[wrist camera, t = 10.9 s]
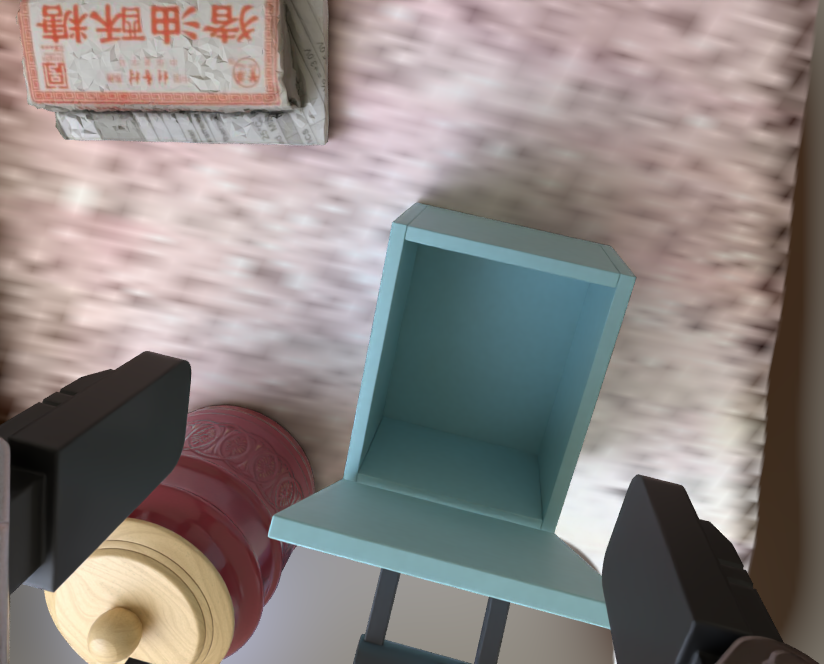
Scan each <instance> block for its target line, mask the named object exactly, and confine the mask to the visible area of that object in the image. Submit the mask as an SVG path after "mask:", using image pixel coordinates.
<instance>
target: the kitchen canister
mask: <svg viewBox="0 0 824 664" xmlns="http://www.w3.org/2000/svg"><path fill="white" fill-rule="evenodd" d="M313 494H315V485H314V478H313V473H312V469H311V466H310V464H309V461H308V459H307V457H306V455H305V453H304V451H303V450H302V448H301V447H300V445H299V444H298V443H297V441H296V440H295V439H294V438H293V437H292V436H291V435H290V434H289V433H288V432H287V431H286V430H285V429H284V428H283V427H282V426H280V425H279V424H278V423H276V422H275V421H273V420H272V419H270V418H268V417H267V416H265V415H263V414H261V413H258V412H256V411H253V410H250V409H247V408H243V407H238V406H230V405H216V406H209V407H204V408H201V409H198V410H195V411H193V412H191V413H188V414H187V424H186V434H185V442H184V446H183V450H182V453H181V456H180V458H179V460H178V462H177V464H176V466H175V468H174V469H173V470H172V472H171V473H170V474H169V475H168V476H167V477H166V478H165V479H164V480H163V481H162V482H161V483H160V484H159V485H158V486H157V487H156V488H155V489H154V490H153V491H152V492H151V494H150V495H149V496H148V497H147V498H146V499H145V500H144V501H143V502H142V503H141V504H140V505H139V506H138V507H137V508H136V509H135V510H134V511H133V512H132V513H131V514H130V515H129V516H128V517H127V518H126V519H125V520H124V521H123V522H122V523H121V524H120V525H119V526H118V527H117V528H116V529H115V530H114V532H113V533H112V534H111V535H110V536H109V537H108V538H107V539H106V540H105V541H104V542H103V543H102V544H101V545H100V546H99V547H98V548H97V549H96V550H95V551H94V552H93V553H92V554H91V555H90V556H89V557H88V558H87V559H86V560H85V561H84V562H83V563H82V564H81V565H80V566H79V567H78V568H77V569H76V571H75V572H74V573H73V574H72V575H71V576H70V577H69V578H68V579H67V580H66V581H65V582H64V583H63V584H62V585H61V586H60V587H59V588H58V589H57V590H56V591H55V592H54V593H53V592H50V591H46V590H44V592H45V598H46V603H47V606H48V609H49V612H50V614H51V617H52V619H53V621H54V623H55V625H56V626H57V628H58V630H59V631H60V633H61V634H62V636H63V637H64V638H65V639H66V641H67V642H68V643H69V644H70V646H71V647H72V648H73V649H74V650H75V651H76V652H77V653H78V655H79V656H80V657H82V658H83V659H84V660H85V661H86V662H87V663H89V664H125V662H126V661H127V660H128V658H129V657H131V658H134V659H138V660H141V661H145V662H148V663H152V664H220V662H221V661H222V660H223V659H225V658H227V657H229V656H231V655H232V654H234V653H235V652H236V651H238V650H239V649H240V648H241V647H242V646H243V645H244V644H245V643H246V642H247V641H248V640H249V639H250V637H251V636H252V635H253V633H254V631H255V630H256V628H257V626H258V623H259V621H260V618H261V615H262V611H263V607H264V606H265V605H266V604H267V603H268V601H269V600H270V599H271V597H272V595H273V594H274V592H275V590H276V588H277V586H278V583H279V580H280V576H281V572H282V570H283V569H284V567H285V565H286V563H287V561H288V559H289V557H290V555H291V553H292V551H293V550H294V549H295V547H296V546H297V545H294V544H290V543H287V542H283V541H279V540H276V539H272V538H269V537H268V532H269V528H270V525H271V521H272V517H273V515H274V514H276V513H278V512H280V511H282V510H284V509H286V508H288V507H290V506H292V505H294V504H295V503H297V502H299V501H301V500H303V499H305V498H307V497H309V496H311V495H313Z"/></svg>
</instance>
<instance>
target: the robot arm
mask: <svg viewBox="0 0 824 664" xmlns="http://www.w3.org/2000/svg"><path fill="white" fill-rule="evenodd" d="M190 384H191V366H190V364H189V362H188V361H186V360H182V359H178V358H174V357H170V356H166V355H162V354H158V353H154V352H150V351H145V352H143V353H141V354H140V355H138V356H136V357H135V358H133V359H132V360H130V361H128V362H127V363H125V364H124V365H122V366H120V367H119V368H117V369H116V370H112V369H109V370H105V371H102V372H98V373H94V374H91V375H87V376H83V377H81V378H79V379H77V380H76V381H74V382H72V383H71V384H69V385H67V386H65V387H64V388H62V389H61V390H60V393H59V392H55V393H54V394H52V395H50V396H49V397H47V398H45V399H43V402H42V403H40V402H38V403H37V404H35V405H33V406H32V407H30V408H28V409H27V410H25V411H23V412H22V413H20V414H18V415H16V416H15V417H13V418H11V419H10V420H8V421H6V422H5V423H3V424H1V425H0V664H9V648H10V647H9V645H10V643H9V641H10V594H11V593H13V592H14V591H15V590H16V589H17V588H18V587H19V586H20V585H21V584H25V585H29V586H32V587H35V588H39V589H43V590H46V591H50V592H53V593H54V592H55V591H56V590H57V589H58V588H59V587H60V586H61V585H62V584H63V583H64V582H65V581H66V580H67V579H68V578H69V577H70V576H71V575H72V574H73V573H74V572H75V571H76V569H77V568H78V567H79V566H80V565H81V564H82V563H83V562H84V561H85V560H86V559H87V558H88V557H89V556H90V555H91V554H92V553H93V552H94V551H95V550H96V549H97V548H98V547H99V546H100V545H101V544H102V543H103V542H104V541H105V540H106V539H107V538H108V537H109V536H110V535H111V534H112V533H113V532H114V530H115V529H116V528H117V527H118V526H119V525H120V524H121V523H122V522H123V521H124V520H125V519H126V518H127V517H128V516H129V515H130V514H131V513H132V512H133V511H134V510H135V509H136V508H137V507H138V506H139V505H140V504H141V503H142V502H143V501H144V500H145V499H146V498H147V497H148V496H149V495H150V494H151V492H152V491H153V490H154V489H155V488H156V487H157V486H158V485H159V484H160V483H161V482H162V481H163V480H164V479H165V478H166V477H167V476H168V475H169V474H170V473H171V472H172V470H173V469H174V468H175V466H176V464H177V462H178V460H179V458H180V456H181V453H182V450H183V446H184V442H185V434H186V424H187V414H188V404H189V394H190ZM743 567H744V565H743V564H742V562H741V560H740V558H739V556H738V554H737V552H736V550H735V548H734V546H733V544H732V543H731V542H730V541H729V540H728V539H727V538H726V537H725V536H724V535H723V534H722V533H721V532H720V531H719V530H718V529H717V528H716V527H715V526H714V525H713V524H712V523H711V522H709V521H705V520H701V519H699V518H698V516H697V514H696V511H695V509H694V507H693V505H692V503H691V501H690V499H689V496H688V494H687V492H686V490H685V488H684V487H683V486H682V485H679V484H675V483H671V482H667V481H663V480H659V479H655V478H651V477H647V476H643V475H639V474H638V475H636V476H635V477H634V478H633V479H632V481H631V483H630V485H629V488H628V490H627V493H626V496H625V499H624V502H623V504H622V507H621V510H620V513H619V516H618V518H617V521H616V524H615V527H614V530H613V532H612V535H611V538H610V541H609V544H608V546H607V550H606V553H605V557H604V562H603V569H602V588H603V593H604V598H605V603H606V609H607V614H608V619H609V624H610V629H611V634H612V640H613V645H614V650H615V655H616V660H617V664H819V663H818V662H816V661H815V660H813V659H812V658H810V657H809V656H808V655H806V654H804V653H802V652H801V651H799V650H797V649H795V648H793V647H791V646H789V645H787V644H785V643H784V642H783V640H782V638H781V637H780V635H779V633H778V631H777V629H776V627H775V625H774V623H773V621H772V619H771V617H770V615H769V614H768V612H767V610H766V608H765V606H764V604H763V602H762V600H761V598H760V596H759V594H758V592H757V591H756V589H753V583H752V581H751V579H750V577H749V575H748V573H747V571H746V570H743ZM125 664H152V663H148V662H145V661H141V660H138V659H134V658H131V657H129V658H128V660H127V661H126V662H125Z"/></svg>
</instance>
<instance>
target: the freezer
mask: <svg viewBox="0 0 824 664" xmlns="http://www.w3.org/2000/svg"><path fill="white" fill-rule="evenodd" d="M635 280H636V276H635V275H634V274H633V273H632V271H631V270H630V269H629V268H628V266H627V265H626V264H625V263H624V261H623V260H622V259H621V258H620V256H619V255H618V254H617V253H616V251H615V250H614V249H613V248H612V247H611V246H608V245H603V244H599V243H594V242H590V241H586V240H581V239H577V238H572V237H568V236H563V235H559V234H554V233H550V232H546V231H541V230H537V229H532V228H528V227H523V226H519V225H514V224H510V223H506V222H501V221H497V220H492V219H488V218H483V217H479V216H474V215H470V214H466V213H461V212H457V211H452V210H448V209H443V208H439V207H434V206H430V205H426V204H421V203H415V204H414V205H413V206H411V207H410V208H409V209H408V210H407V211H405V212H404V213H403V214H402V215H401V216H399V217H398V218H397V219H396V220H395V221H393V222H392V227H391V232H390V237H389V242H388V248H387V253H386V258H385V263H384V268H383V274H382V279H381V284H380V289H379V294H378V300H377V305H376V310H375V315H374V320H373V326H372V331H371V336H370V341H369V347H368V352H367V357H366V362H365V367H364V373H363V378H362V383H361V388H360V393H359V399H358V404H357V409H356V414H355V419H354V425H353V430H352V435H351V440H350V445H349V451H348V456H347V461H346V466H345V471H344V477H343V479H346V480H350V481H354V482H357V483H361V484H365V485H369V486H373V487H377V488H381V489H385V490H388V491H392V492H396V493H400V494H404V495H408V496H412V497H416V498H419V499H423V500H427V501H431V502H435V503H439V504H443V505H446V506H450V507H454V508H458V509H462V510H466V511H470V512H474V513H477V514H481V515H485V516H489V517H493V518H497V519H501V520H504V521H508V522H512V523H516V524H520V525H524V526H528V527H532V528H535V529H539V530H543V531H547V532H551V533H554V532H555V529H556V526H557V523H558V519H559V516H560V513H561V510H562V507H563V504H564V501H565V498H566V495H567V491H568V488H569V485H570V482H571V479H572V476H573V473H574V470H575V467H576V464H577V460H578V457H579V454H580V451H581V448H582V445H583V442H584V439H585V436H586V433H587V429H588V426H589V423H590V420H591V417H592V414H593V411H594V408H595V405H596V401H597V398H598V395H599V392H600V389H601V386H602V383H603V380H604V377H605V374H606V370H607V367H608V364H609V361H610V358H611V355H612V352H613V349H614V346H615V343H616V339H617V336H618V333H619V330H620V327H621V324H622V321H623V318H624V315H625V311H626V308H627V305H628V302H629V299H630V296H631V293H632V290H633V287H634V284H635Z"/></svg>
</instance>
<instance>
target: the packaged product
mask: <svg viewBox="0 0 824 664" xmlns="http://www.w3.org/2000/svg"><path fill="white" fill-rule="evenodd" d="M16 22H17V25H18V26H19V29H20V41H21V45H22V51H23V60H22V64H23V69H24V77H25V80H26V88H27V101H28V104H29V105H32V106H35V107H36V108H37V109H39V108H43V109H46V110H48V111H52V112H55V116H56V128H57V129H58V131H59V132H60V134H61V135H62V137H63V138H64V139H67V140H119V141H143V142H188V143H209V144H220V143H240V144H267V145H294V146H308V145H325V144H326V143H327V142H328V126H329V110H328V0H20V9H19V11H18V13H17V16H16Z"/></svg>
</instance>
